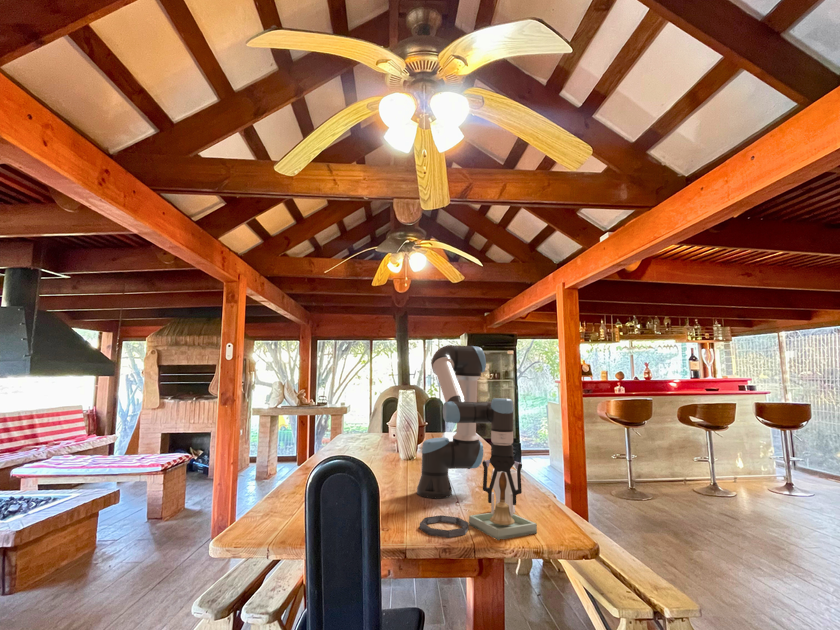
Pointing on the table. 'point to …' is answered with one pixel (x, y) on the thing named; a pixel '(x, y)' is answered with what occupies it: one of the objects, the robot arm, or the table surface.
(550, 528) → the table surface
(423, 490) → the robot arm
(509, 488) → the cup
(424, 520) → the collar
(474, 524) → the green square tray
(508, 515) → the hand bell
